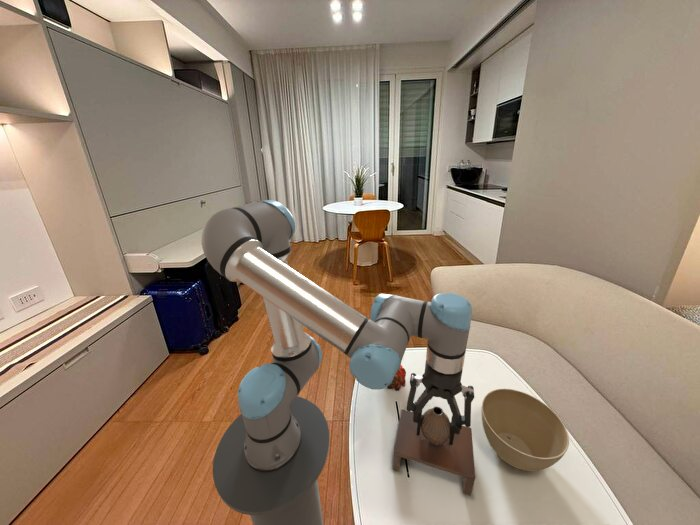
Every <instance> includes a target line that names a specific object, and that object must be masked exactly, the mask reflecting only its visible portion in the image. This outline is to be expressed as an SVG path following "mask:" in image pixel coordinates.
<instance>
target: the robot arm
mask: <svg viewBox="0 0 700 525" xmlns="http://www.w3.org/2000/svg"><path fill="white" fill-rule="evenodd" d="M295 232H296V221H295V219H294V216H293V214H292V213H291V211H290V210H289V209H288V207H286V206H284V205H283V204H282V203H281V202H279V201H277V200H273V199H265V200H257V201H253V202H252V201H251V202H249V203H246V204H242V205H238V206H235V207H231V208H230V207H229V208H225V209H222V210H219V211H217V212H215V213H213V214H212V215H211V216H209V219H207V221H206V222H205V223H204V226H203V228H202V232H201V237H200V238H201V240H200V241H201V248H202V251H203V254H204V256H205V258H206V260H207V262H208V263H209V264H210V265H211V267H212V268H213V270H215V271H216V272H217V273H218V274H219V275H221V277H222V276H223V277H224V278H225V279H227V280H228V281H229V282H232V283H233V282H235V283H237V282H240V283H242V284H243V285H245V286H246V287H248V288H249V289H250V290H252V291H253V292H255V293H256V294H258V296H260V297H261V298H262V301H263V305H264V308H265V312H266V316H267V319H268V323H269V327H270V331H271V334H272V338H273V343H271V346H270V352H271V356H272V361H271V362H269V363H262V364H260V366H256V367H254V368H252V369H251V370H249V371H248V372H247V373H246V374H245V376H243V378H242V379H241V381H240V383H239V386H238V389H237V399H238V402H237V403H238V409H239V411H240V414H242V417H243V420H244V424H245V428H246V431H247V433H246V438H245V443H244V454H245V457H246V461H247V463H248V464H249V466H250V467H251V468H253V469H254V470H256V471H259V472H273V471H276V470H278V469H280V468H282V467H284V466H285V465H286V464H288V463H289V462H290V461H291V460H292V459H293V457H294V456H295V455H296V453H297V451H298V449H299V447H300V443H301V431H300V426H299V424H298V422H297V421H296V419H295V418H294V417H293V415H292V414H291V411H290V405H291V403H292V402H293V400H294V399H295V398H296V396H298V395H299V394H300V393H301V391H302V390H303V389H304V387H305V386H306V385H307V384H308V382H309V381H310V380H311V379H312V378H313V376H314V375H315V374H316V373H317V371H318V369H319V367H320V365H321V363H322V361H323V352H322V349H321V348H322V347H321V346H320V343H317V340H316V339H315V338H314V337H312V336H311V335H310V334H309V333H307V332H305V331H304V327H305V328H307V329H308V330H310V331H311V332H312V333H314V334H315V335H317V336H319V337H320V338H321V339H323V340H324V341H326V342H327V343H328V344H330V345H331V346H333V347H334V348H336V349H337V350H339V351H340V352H341V353H343V354H344V355H345V356H346V357H348V358H350V360H349V371H350V373H351V376H354V377H355V380H356V382H358V383H359V385H361V386H363V387H365V388H368V389H370V390H378V391H379V390H383V389H386V388H387V386H389V385H390V384H391V383H392V381H393V379H394V376H395V374H396V372H397V371H398V370H399V368H400V365H402V361H403V359H404V355H405V353H406V350H407V347H408V345H409V342H410V340H411V337H416V338H419V339H425V340H427V344H426V355H425V363H424V364H425V365H424V373H423V374H422V375H417V374H416V373H415V372H411V374H410V378H409V387H410V389H409V392H408V396H407V401H406V409H405V410H407V411H411V412H413V413H414V414H413V422H415V423H418V425H417V435H419V436H420V427H421V418H422V415H423V410H424V408H425V407H426V405H427V404H428V403H429V401H431V400H432V399H433V397H435V398H440V399H443V400H446V402H447V405H448V406H449V409H450V412H451V413H452V415H451V420H450V422H451V433H450V436H449V445H453V440H454V434H459V433H460V430H461V429H462V425H463V426H466V427H470V428H471V426H472V425H471V424H472V402H473V401H474V400H475V389H474V388H475V387H474V386H473V385H468V386H465V385H463V384H462V382H461V381H462V376H463V369H464V365H465V357H466V352H467V345H468V341H469V337H470V336H469V335H470V331H471V330H470V329H471V323H472V313H473V308H472V304H471V302H470V301H469V300H468V299H467V298H465V297H464V296H462V295H460V294H457V293H452V292H447V293H445V292H440V293H437V294H435V295H434V296H433V297H432V298H431V301H425V300H421V299H416V298H410V297H405V296H400V295H397V294H389V293H388V294H387V293H379V294H378V295H376V296H375V297H374V299H373V302H372V305H371V307H370V318H369V317H367V316H365V315H364V314H362V313H361V312H359V311H357V310H356V309H354V308H353V307H352V306H350V305H348V304H347V303H345V302H344V301H342V300H341V299H339V298H338V297H336V296H335V295H333V294H331V293H330V292H329V291H327V290H325V289H324V288H323V287H322V286H321V287H320V285H318V284H316V283H315V282H314V281H312V280H310V279H309V278H307V277H305V275H303V274H301V273H300V272H298V271H296V270H295V269H293V267H290V264H289V261H288V258H289V256H290V254H291V253H292V246H291V242H290V240H292V238H293V237H294V234H295ZM421 384H422V385H423V386H424V388H425V389H424V390H423V392H422V393H421V394H420V395H419V397H418V399H417V400H416V401H414V400H415V397H416V393H417V388H419V386H420V385H421ZM460 393H462V397H463V398H464V399H463V400H464V405H463V406H464V407H463V408H464V409H463V410H464V411H463V415H462V414H461V411H460V408H459V405H458V402H457V399H456V396H457V395H458V394H460Z"/></svg>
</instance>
